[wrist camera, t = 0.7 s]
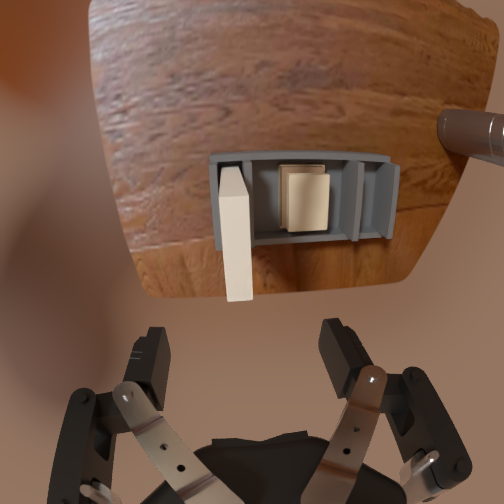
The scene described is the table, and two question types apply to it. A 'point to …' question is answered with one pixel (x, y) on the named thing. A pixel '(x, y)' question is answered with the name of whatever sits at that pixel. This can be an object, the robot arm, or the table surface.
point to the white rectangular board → (235, 234)
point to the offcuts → (303, 196)
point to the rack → (340, 194)
